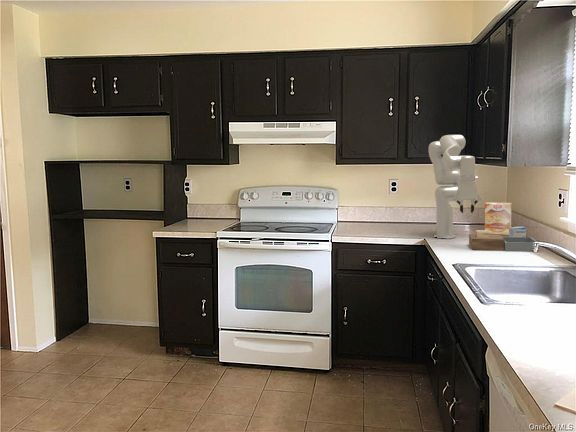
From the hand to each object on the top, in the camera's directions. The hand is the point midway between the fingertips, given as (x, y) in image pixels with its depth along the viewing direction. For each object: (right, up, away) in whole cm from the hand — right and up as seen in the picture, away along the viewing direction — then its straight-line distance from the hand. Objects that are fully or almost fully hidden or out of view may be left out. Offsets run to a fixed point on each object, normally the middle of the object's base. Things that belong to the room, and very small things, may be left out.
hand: (466, 212), depth 268 cm
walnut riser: (+10, -19, 0) cm, 22 cm away
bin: (+26, -19, -4) cm, 33 cm away
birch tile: (+8, -13, -1) cm, 16 cm away
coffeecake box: (+36, -13, +44) cm, 58 cm away
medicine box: (+34, -17, +13) cm, 40 cm away
